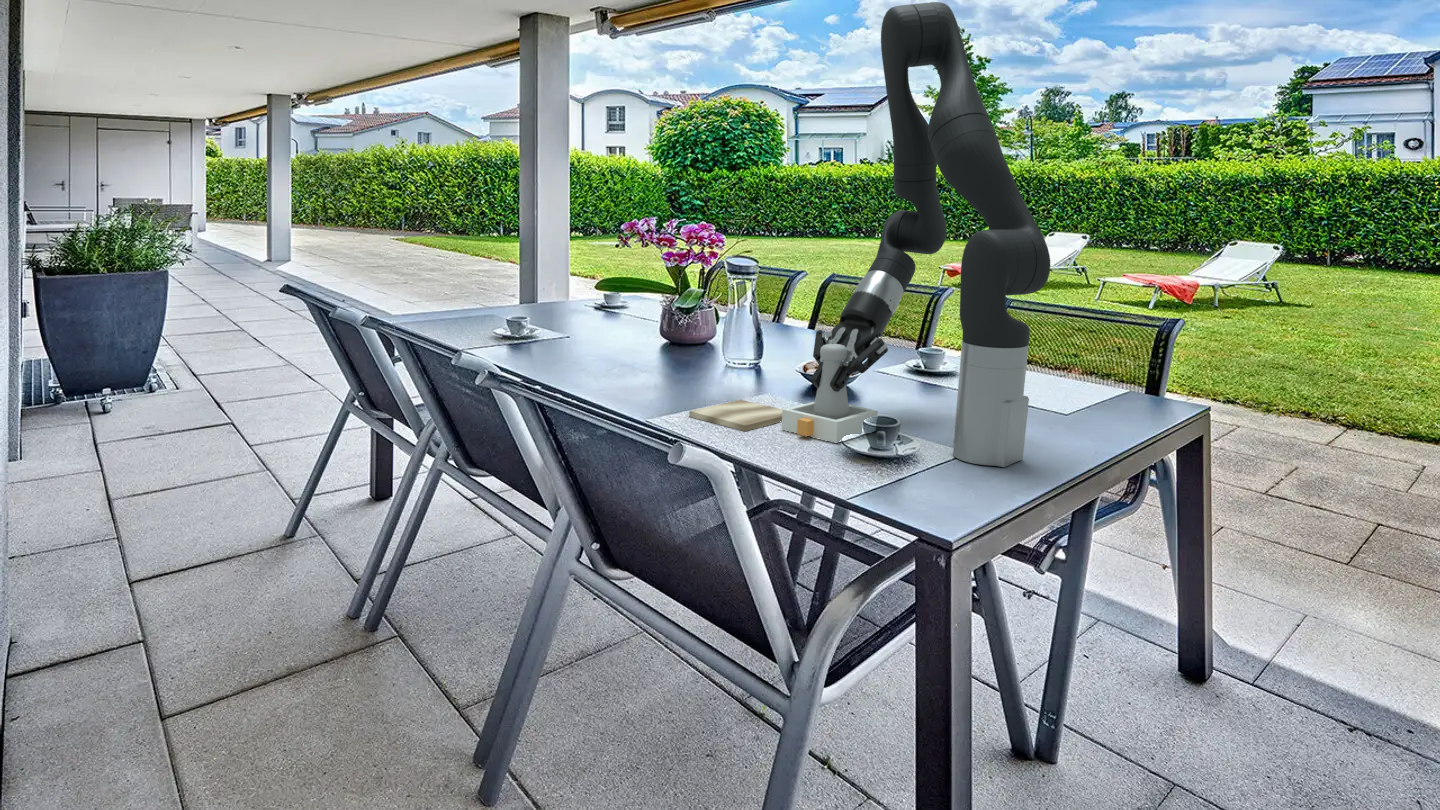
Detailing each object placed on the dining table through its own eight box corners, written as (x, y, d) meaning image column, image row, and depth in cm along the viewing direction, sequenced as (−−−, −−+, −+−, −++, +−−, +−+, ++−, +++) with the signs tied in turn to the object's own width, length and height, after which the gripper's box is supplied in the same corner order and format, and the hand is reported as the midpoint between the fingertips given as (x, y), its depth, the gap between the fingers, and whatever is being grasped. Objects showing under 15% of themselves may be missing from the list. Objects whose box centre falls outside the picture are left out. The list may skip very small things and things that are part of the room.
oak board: (796, 418, 153) (796, 412, 153) (745, 431, 144) (745, 425, 144) (740, 404, 162) (740, 399, 162) (689, 416, 153) (689, 411, 153)
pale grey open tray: (876, 431, 146) (877, 410, 145) (829, 445, 137) (830, 423, 136) (822, 419, 153) (823, 399, 152) (775, 431, 144) (775, 410, 143)
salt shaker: (818, 428, 142) (821, 348, 139) (808, 420, 148) (810, 342, 145) (853, 427, 143) (857, 347, 140) (842, 418, 149) (845, 341, 146)
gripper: (829, 286, 150) (780, 366, 145) (900, 293, 141) (851, 379, 135) (846, 315, 155) (800, 393, 150) (916, 323, 146) (870, 407, 140)
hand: (825, 386), depth 142 cm, fingers closed on salt shaker, 3 cm apart
